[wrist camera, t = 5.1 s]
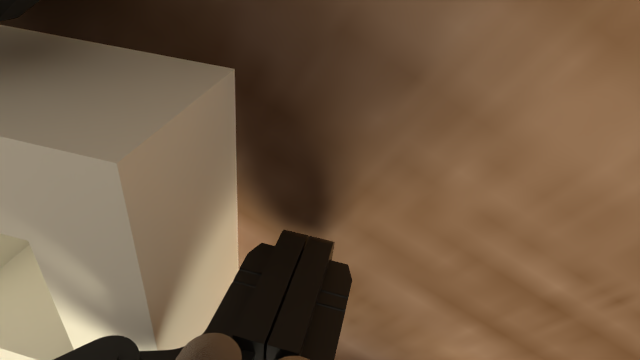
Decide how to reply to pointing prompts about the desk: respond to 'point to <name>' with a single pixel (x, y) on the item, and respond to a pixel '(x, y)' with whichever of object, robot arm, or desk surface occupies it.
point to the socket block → (112, 195)
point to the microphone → (14, 8)
